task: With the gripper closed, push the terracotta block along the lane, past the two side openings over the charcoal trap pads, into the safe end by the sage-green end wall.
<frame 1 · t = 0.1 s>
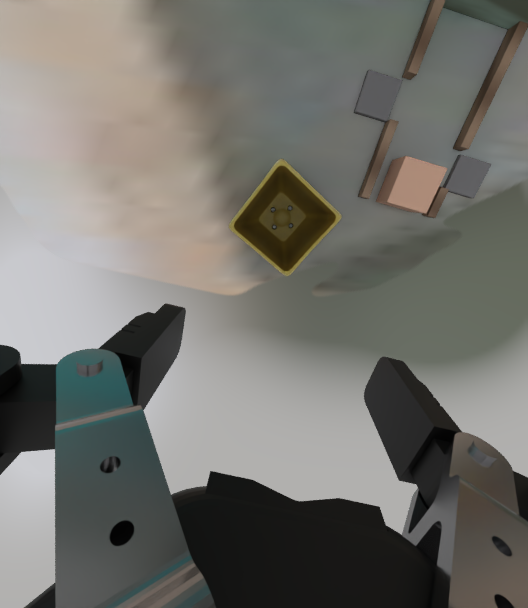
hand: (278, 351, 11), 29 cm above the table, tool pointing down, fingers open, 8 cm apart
flower pot: (282, 216, 37), on the table
terracotta block: (401, 187, 35), on the table
trap pads: (434, 110, 31), on the table
lane: (434, 110, 31), on the table
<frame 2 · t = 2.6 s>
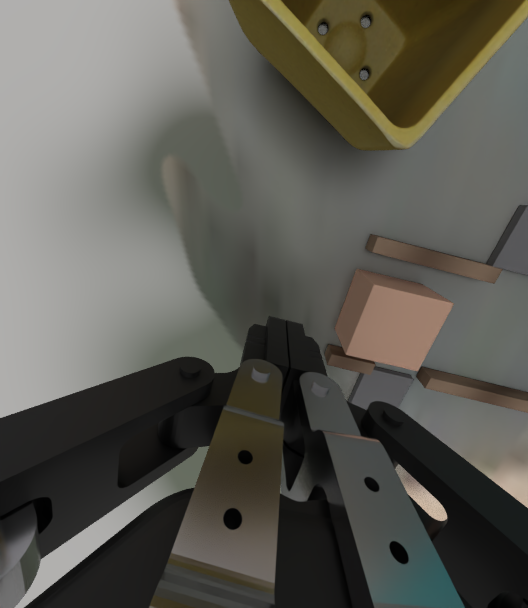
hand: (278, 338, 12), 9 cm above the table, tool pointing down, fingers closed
flower pot: (344, 56, 15), on the table
terracotta block: (376, 306, 21), on the table
trap pads: (481, 333, 21), on the table
lane: (481, 333, 21), on the table
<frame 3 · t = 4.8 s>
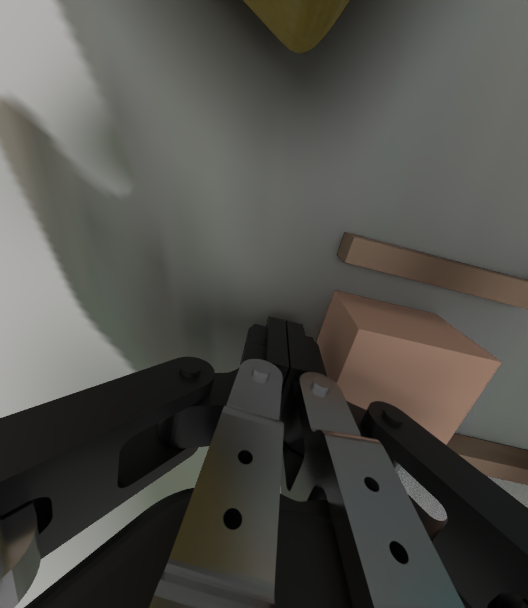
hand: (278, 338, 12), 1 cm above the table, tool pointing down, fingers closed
terracotta block: (366, 347, 14), on the table, touching gripper
lane: (515, 382, 14), on the table
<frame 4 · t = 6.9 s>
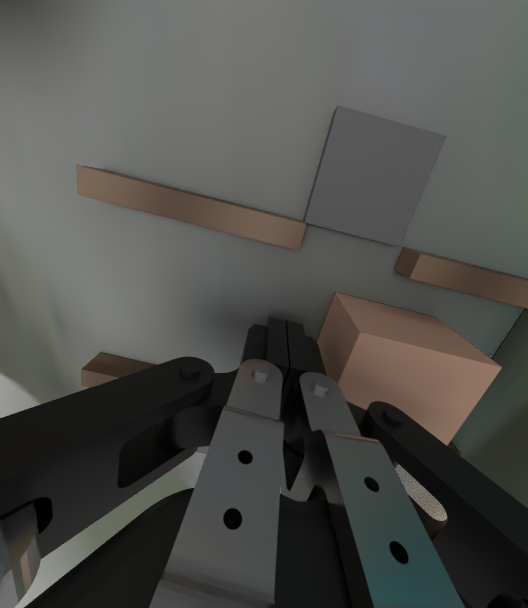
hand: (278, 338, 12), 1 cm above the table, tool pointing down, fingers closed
terracotta block: (365, 349, 13), on the table, touching gripper
trap pads: (322, 335, 13), on the table
lane: (322, 335, 13), on the table
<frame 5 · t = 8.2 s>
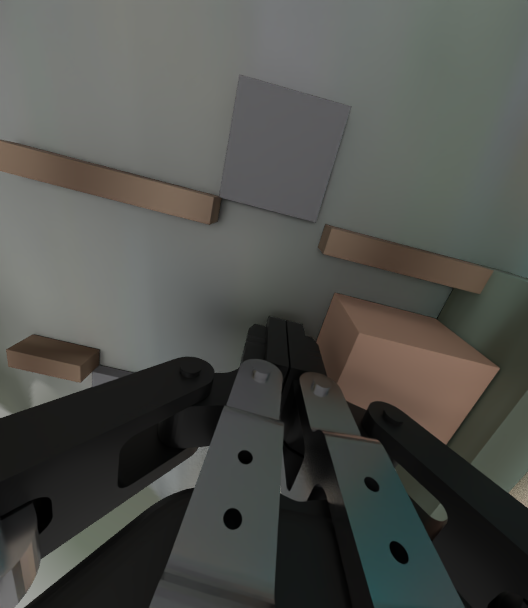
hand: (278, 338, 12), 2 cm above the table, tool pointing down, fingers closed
terracotta block: (365, 349, 14), on the table, touching gripper
trap pads: (253, 316, 13), on the table
lane: (253, 316, 13), on the table
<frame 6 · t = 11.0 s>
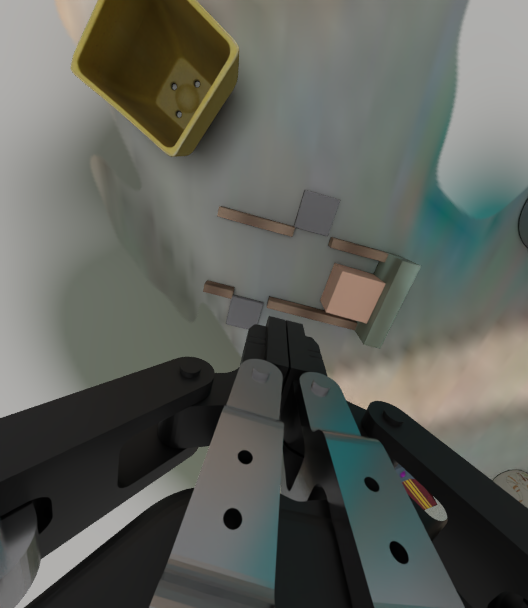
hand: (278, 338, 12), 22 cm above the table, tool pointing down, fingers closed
flower pot: (190, 101, 27), on the table
terracotta block: (345, 287, 34), on the table
trap pads: (301, 272, 33), on the table
mug: (496, 485, 46), on the table
decorative book: (366, 476, 46), on the table
lane: (301, 272, 33), on the table
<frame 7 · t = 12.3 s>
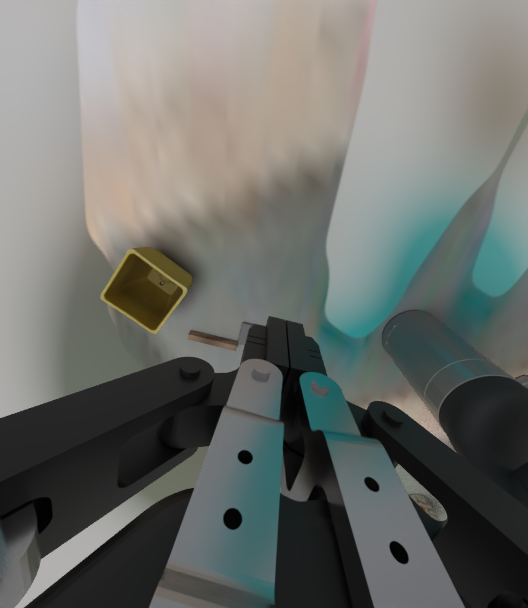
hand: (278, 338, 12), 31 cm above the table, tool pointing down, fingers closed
flower pot: (168, 275, 44), on the table
trap pads: (245, 367, 49), on the table
mug: (404, 504, 62), on the table
lane: (245, 367, 49), on the table
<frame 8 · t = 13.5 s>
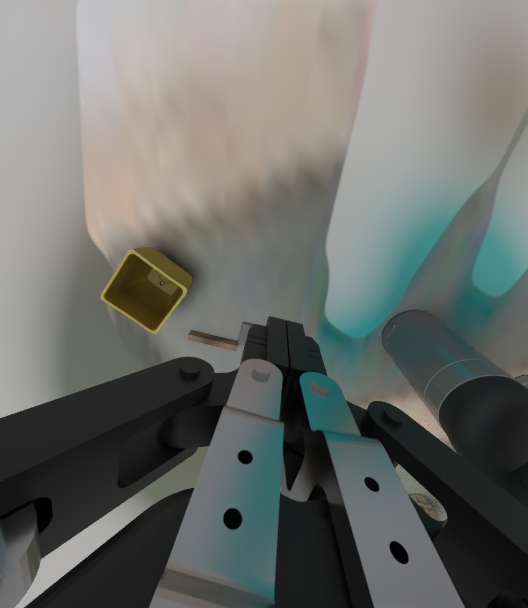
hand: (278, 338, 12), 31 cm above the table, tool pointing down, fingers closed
flower pot: (168, 275, 44), on the table
trap pads: (245, 367, 49), on the table
mug: (404, 504, 62), on the table
lane: (245, 367, 49), on the table
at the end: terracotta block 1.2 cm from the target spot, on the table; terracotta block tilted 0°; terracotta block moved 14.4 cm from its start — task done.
